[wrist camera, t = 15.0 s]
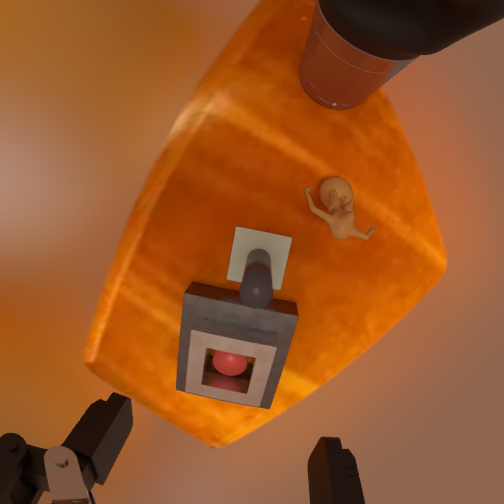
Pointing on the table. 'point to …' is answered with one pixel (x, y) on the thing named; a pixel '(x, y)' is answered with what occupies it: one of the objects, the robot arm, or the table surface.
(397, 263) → the table surface
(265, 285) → the dark grey cylinder
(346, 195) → the figurine
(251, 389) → the box
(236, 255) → the pad
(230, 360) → the button
